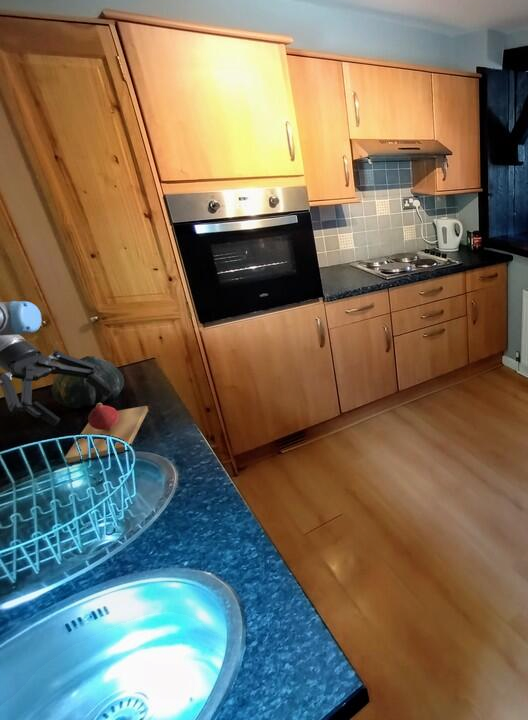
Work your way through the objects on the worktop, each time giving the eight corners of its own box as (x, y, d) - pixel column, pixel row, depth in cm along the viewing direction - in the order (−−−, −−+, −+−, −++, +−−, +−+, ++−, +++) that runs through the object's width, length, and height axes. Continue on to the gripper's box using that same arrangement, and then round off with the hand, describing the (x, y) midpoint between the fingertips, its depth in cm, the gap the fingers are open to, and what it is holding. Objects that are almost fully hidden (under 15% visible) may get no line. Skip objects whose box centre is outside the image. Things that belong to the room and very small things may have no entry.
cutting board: (66, 463, 108) (63, 458, 107) (95, 419, 124) (93, 414, 123) (128, 450, 112) (126, 445, 112) (148, 409, 129) (146, 405, 128)
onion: (103, 438, 114) (91, 412, 111) (88, 433, 116) (77, 407, 113) (128, 426, 119) (117, 400, 116) (113, 421, 121) (103, 395, 118)
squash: (37, 389, 127) (44, 360, 120) (98, 368, 140) (108, 340, 133) (71, 426, 127) (80, 399, 120) (129, 402, 141) (140, 375, 133)
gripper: (57, 339, 124) (124, 390, 128) (-59, 384, 101) (26, 445, 106) (67, 322, 121) (134, 376, 125) (-51, 365, 99) (36, 428, 103)
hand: (85, 407), depth 115 cm, fingers open, 13 cm apart
